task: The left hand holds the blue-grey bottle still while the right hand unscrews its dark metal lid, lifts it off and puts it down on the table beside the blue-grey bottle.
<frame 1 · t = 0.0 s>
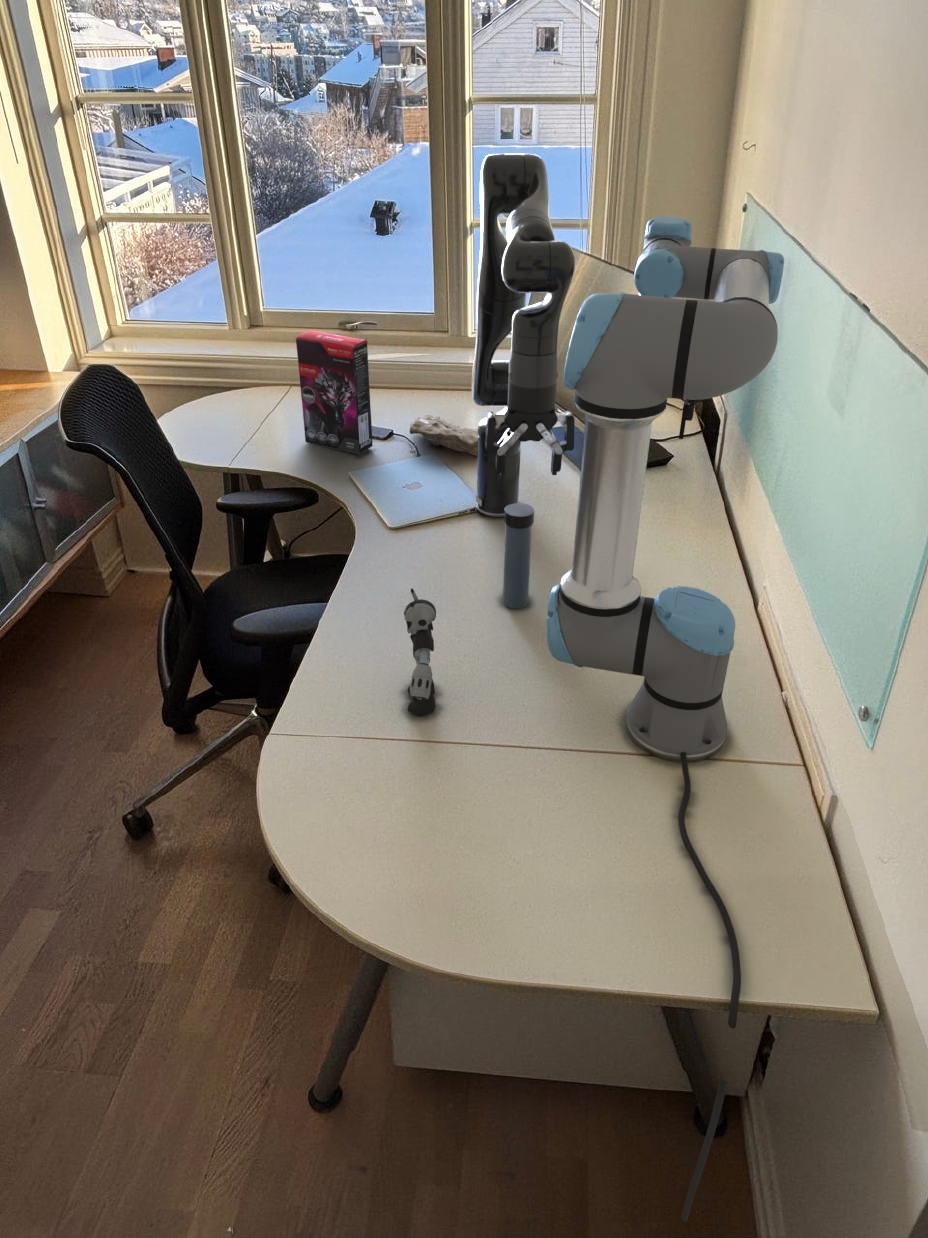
left hand: (527, 473, 152), 29 cm above the table, tool pointing down, fingers open, 8 cm apart
right hand: (643, 432, 170), 28 cm above the table, tool pointing down, fingers open, 13 cm apart
lid: (519, 511, 163), point 19 cm above the table, screwed on, not yet turned
graphics card box: (338, 445, 233), on the table
stone: (446, 445, 234), on the table
blue-grey bottle: (515, 601, 174), on the table
robot: (421, 701, 149), on the table
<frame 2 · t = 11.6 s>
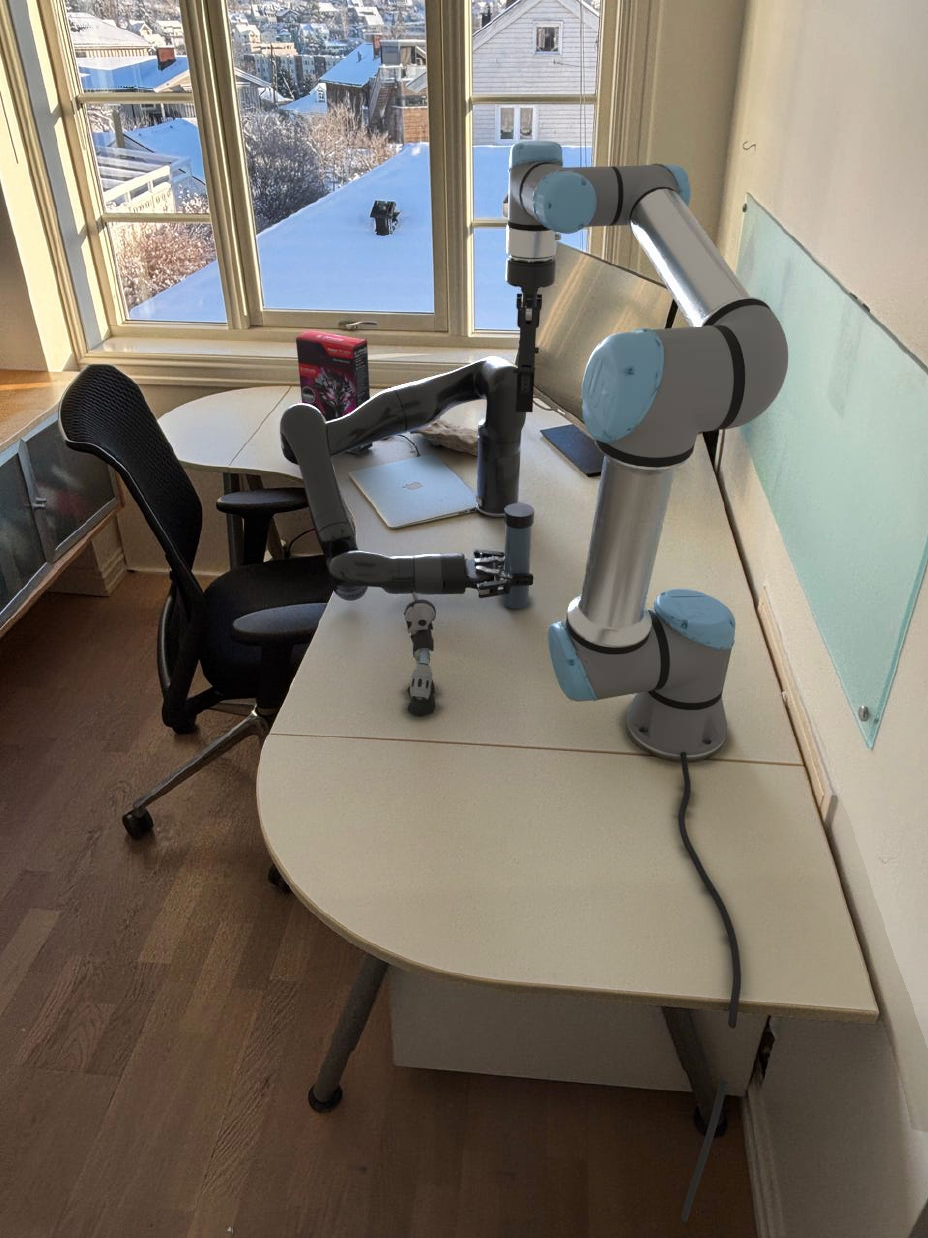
left hand: (530, 571, 170), 7 cm above the table, tool horizontal, fingers closed on blue-grey bottle, 4 cm apart
right hand: (524, 401, 152), 39 cm above the table, tool pointing down, fingers open, 7 cm apart
blue-grey bottle: (515, 601, 174), on the table, touching left hand
everything else where it was.
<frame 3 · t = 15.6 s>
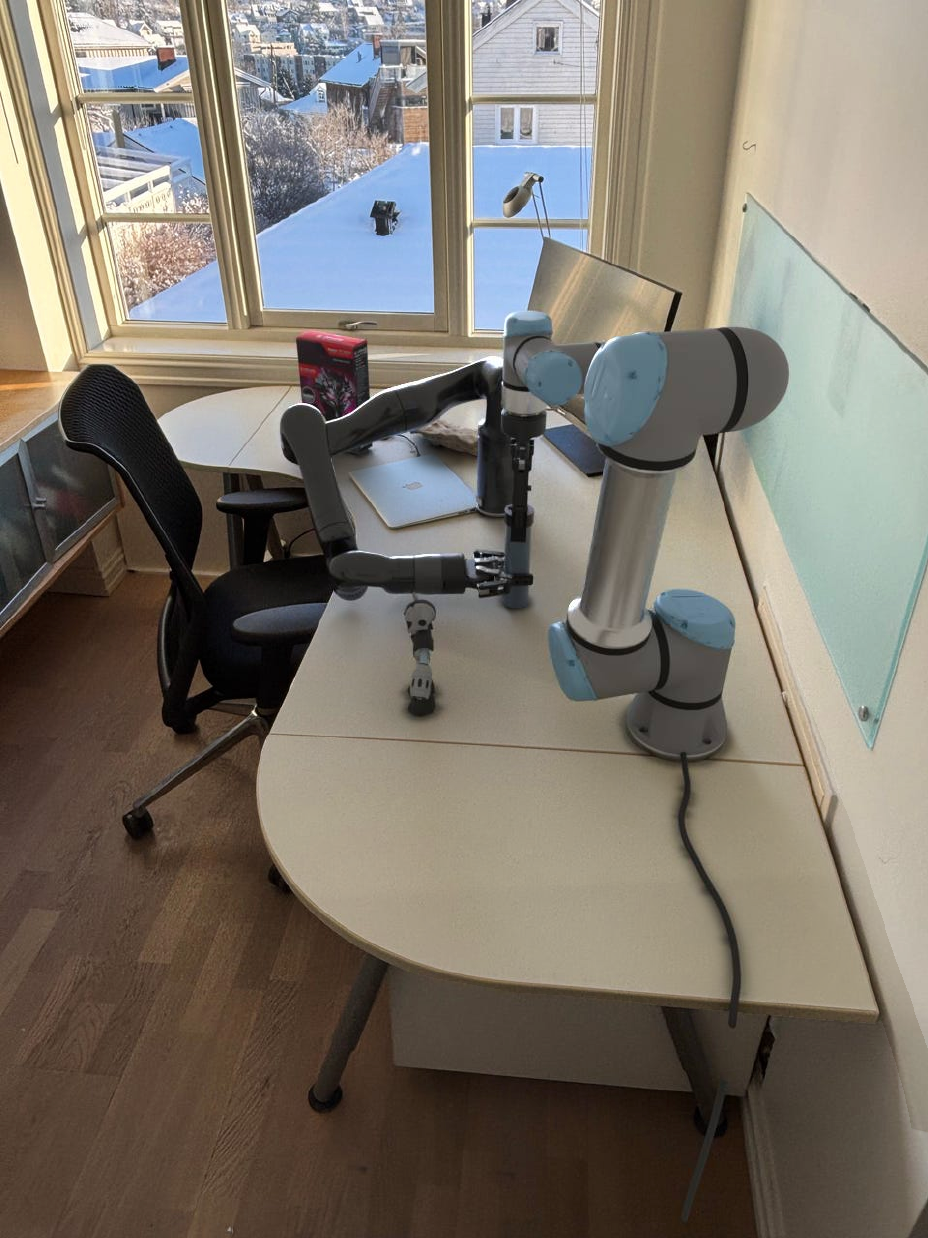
left hand: (530, 571, 170), 7 cm above the table, tool horizontal, fingers closed on blue-grey bottle, 4 cm apart
right hand: (518, 532, 165), 15 cm above the table, tool pointing down, fingers closed on lid, 5 cm apart
lid: (519, 511, 163), point 19 cm above the table, screwed on, not yet turned, touching right hand
blue-grey bottle: (515, 601, 174), on the table, touching left hand
everything else where it was.
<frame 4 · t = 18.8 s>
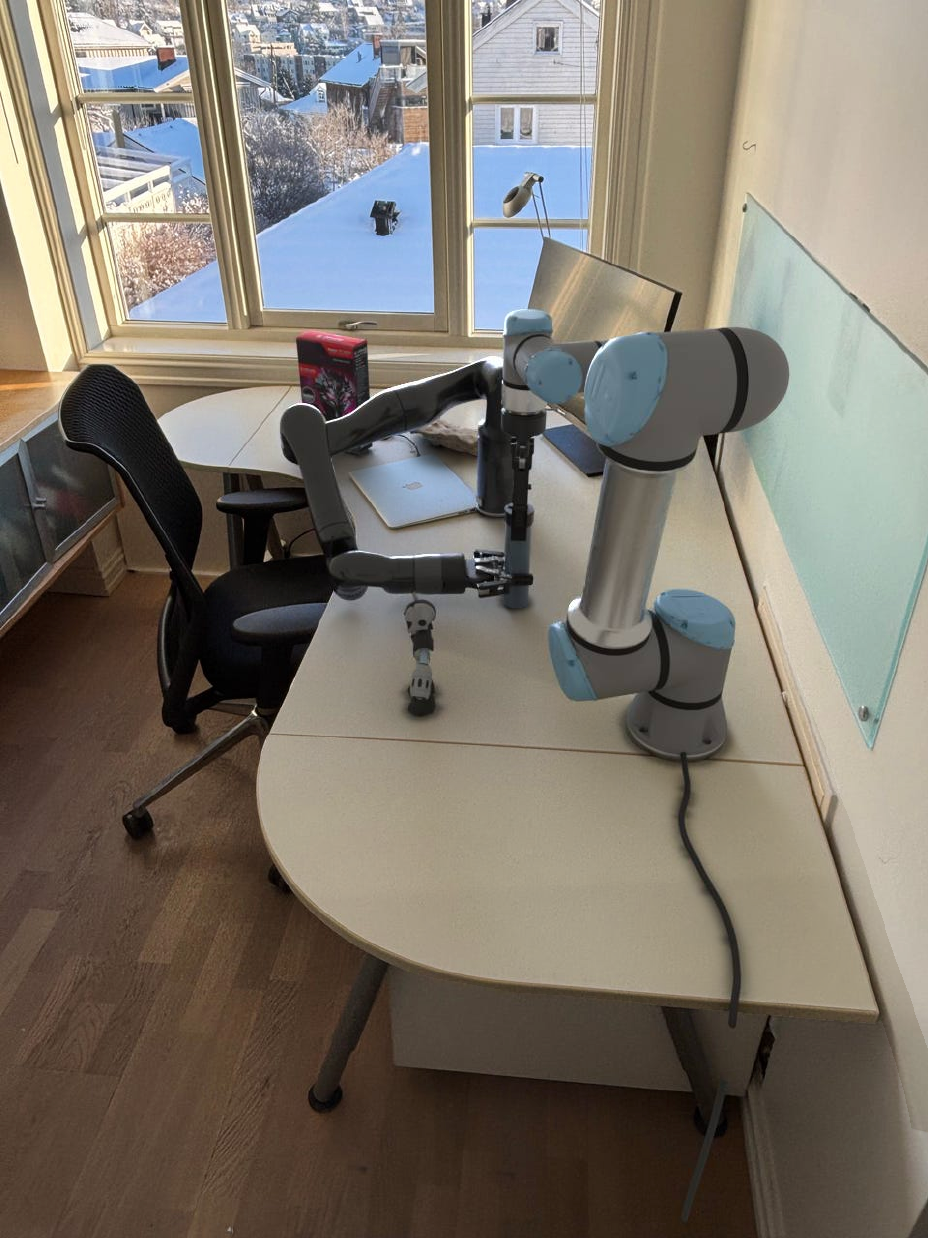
left hand: (530, 571, 170), 7 cm above the table, tool horizontal, fingers closed on blue-grey bottle, 4 cm apart
right hand: (518, 531, 165), 15 cm above the table, tool pointing down, fingers closed on lid, 5 cm apart
lid: (519, 510, 163), point 19 cm above the table, turned 93° so far, risen 0.2 cm, still on its thread, touching right hand
blue-grey bottle: (515, 601, 174), on the table, touching left hand
everything else where it was.
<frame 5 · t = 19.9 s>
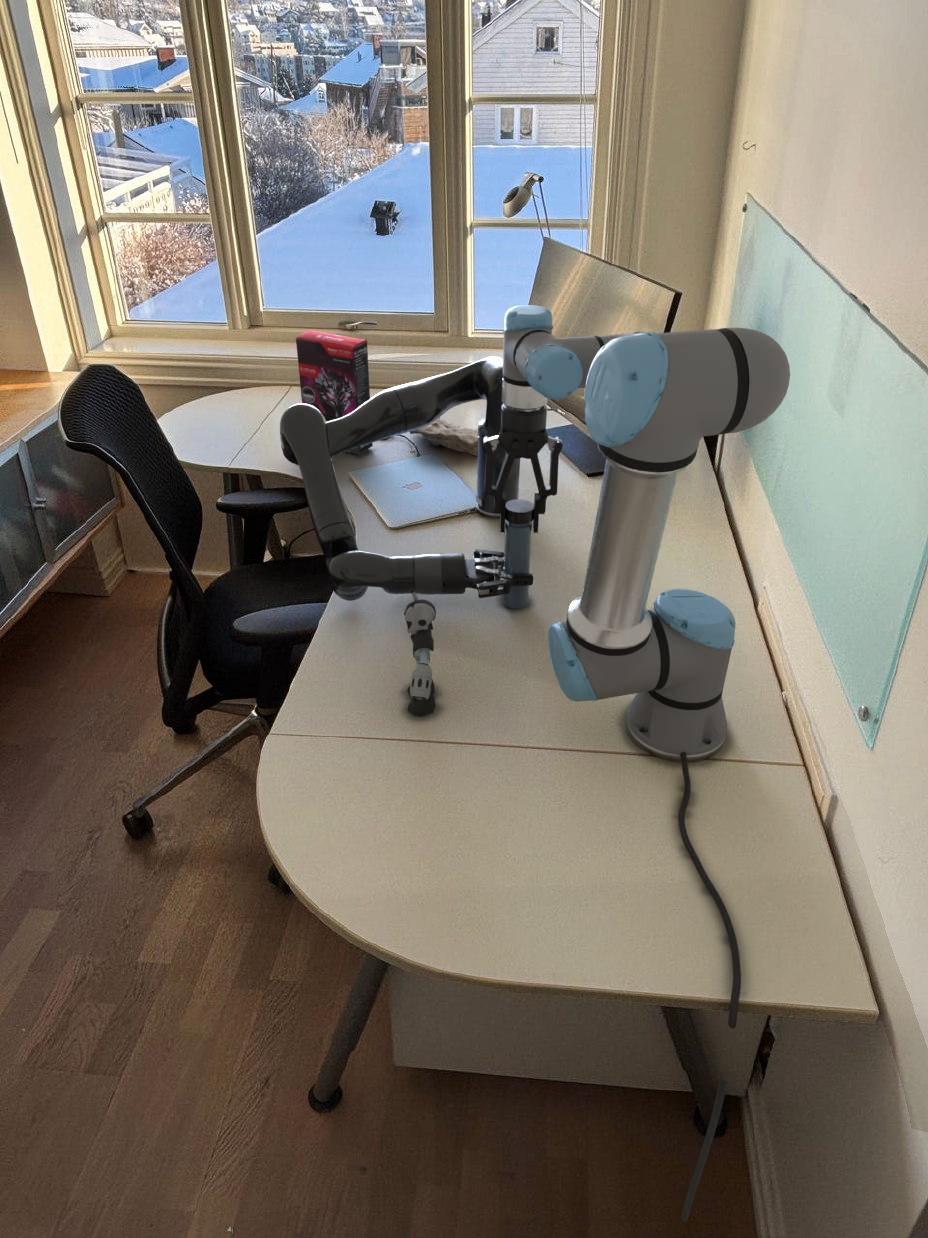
left hand: (530, 571, 170), 7 cm above the table, tool horizontal, fingers closed on blue-grey bottle, 4 cm apart
right hand: (518, 528, 165), 16 cm above the table, tool pointing down, fingers closed on lid, 5 cm apart
lid: (519, 507, 162), point 20 cm above the table, off its thread, touching right hand
blue-grey bottle: (515, 601, 174), on the table, touching left hand
everything else where it was.
when the right hand's fingers open (0 cm above the table, at t = 28.2 s): lid drops 2 cm, point 2 cm above the table.
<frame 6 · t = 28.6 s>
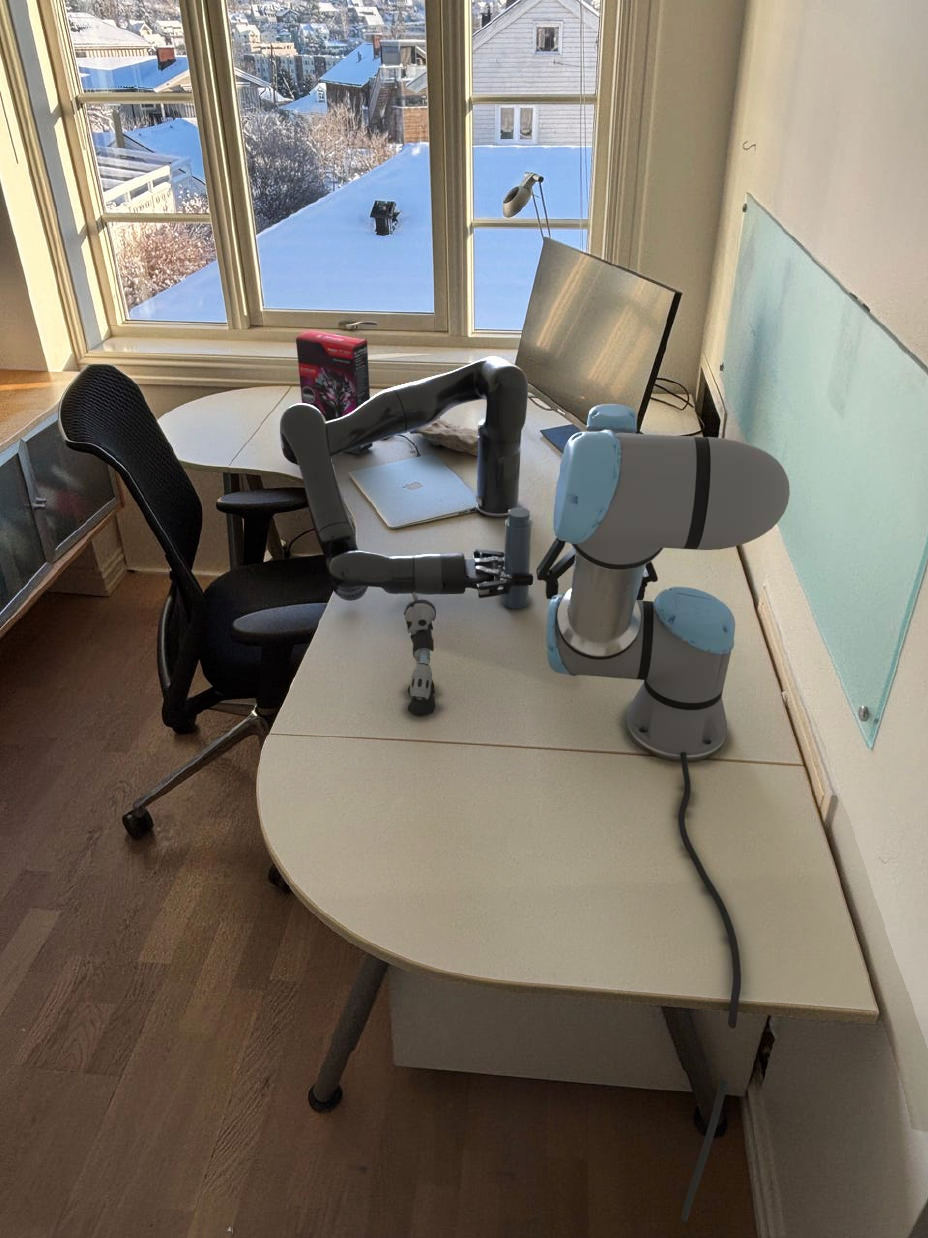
left hand: (530, 571, 170), 7 cm above the table, tool horizontal, fingers closed on blue-grey bottle, 4 cm apart
right hand: (592, 614, 159), 6 cm above the table, tool pointing down, fingers open, 13 cm apart
lid: (590, 630, 162), point 2 cm above the table, off its thread
blue-grey bottle: (515, 601, 174), on the table, touching left hand
everything else where it was.
when the left hand's fingers open (7 cm above the table, at t = 28.8 s): blue-grey bottle stays where it is, on the table.
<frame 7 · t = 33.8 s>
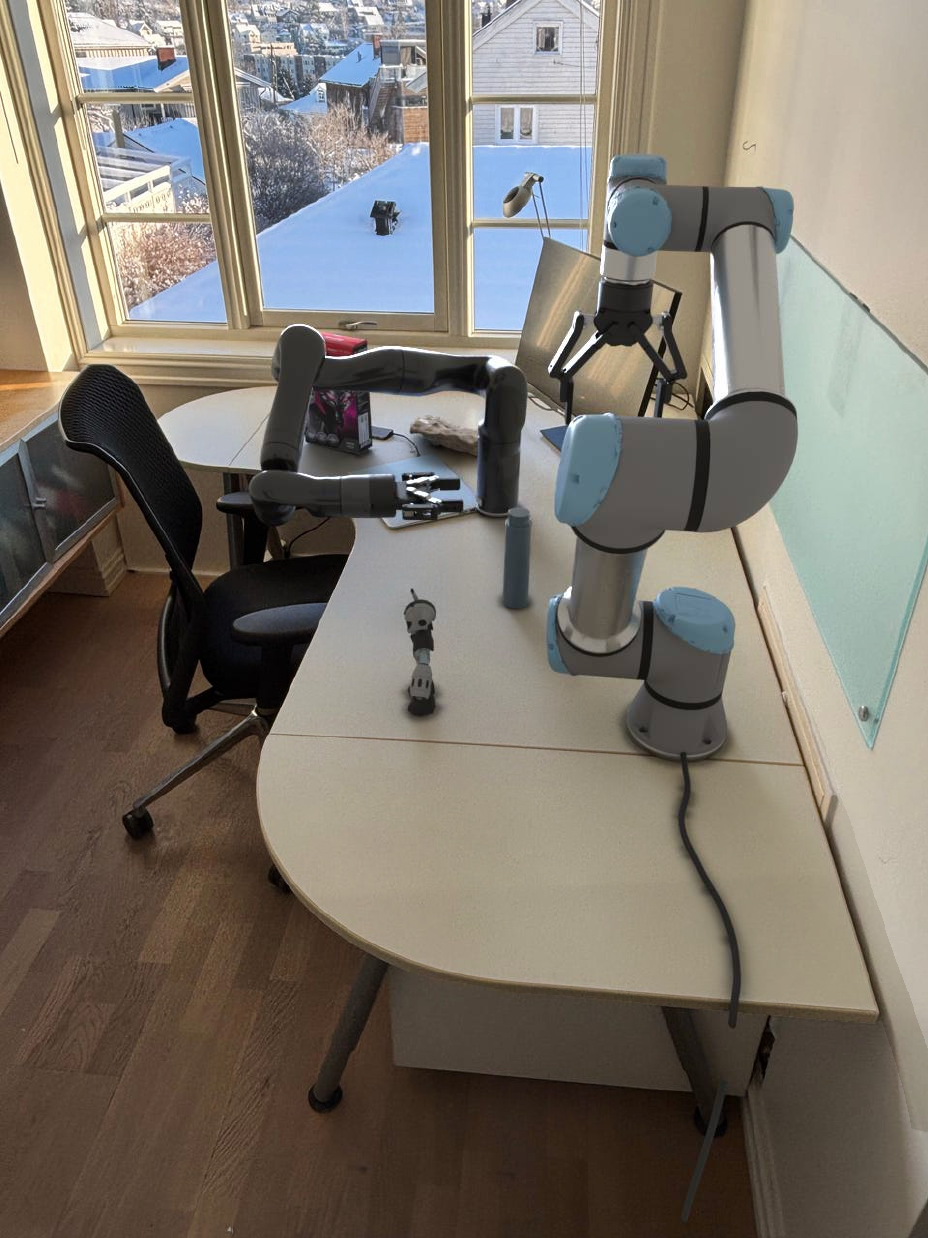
left hand: (461, 494, 160), 23 cm above the table, tool horizontal, fingers open, 8 cm apart
right hand: (612, 422, 140), 41 cm above the table, tool pointing down, fingers open, 13 cm apart
blue-grey bottle: (515, 601, 174), on the table
everything else where it was.
at the end: lid came off its thread; lid point 2.0 cm above the table; the left hand is holding nothing; the right hand is holding nothing; blue-grey bottle tilted 0°; blue-grey bottle moved 0.0 cm from its start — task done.
